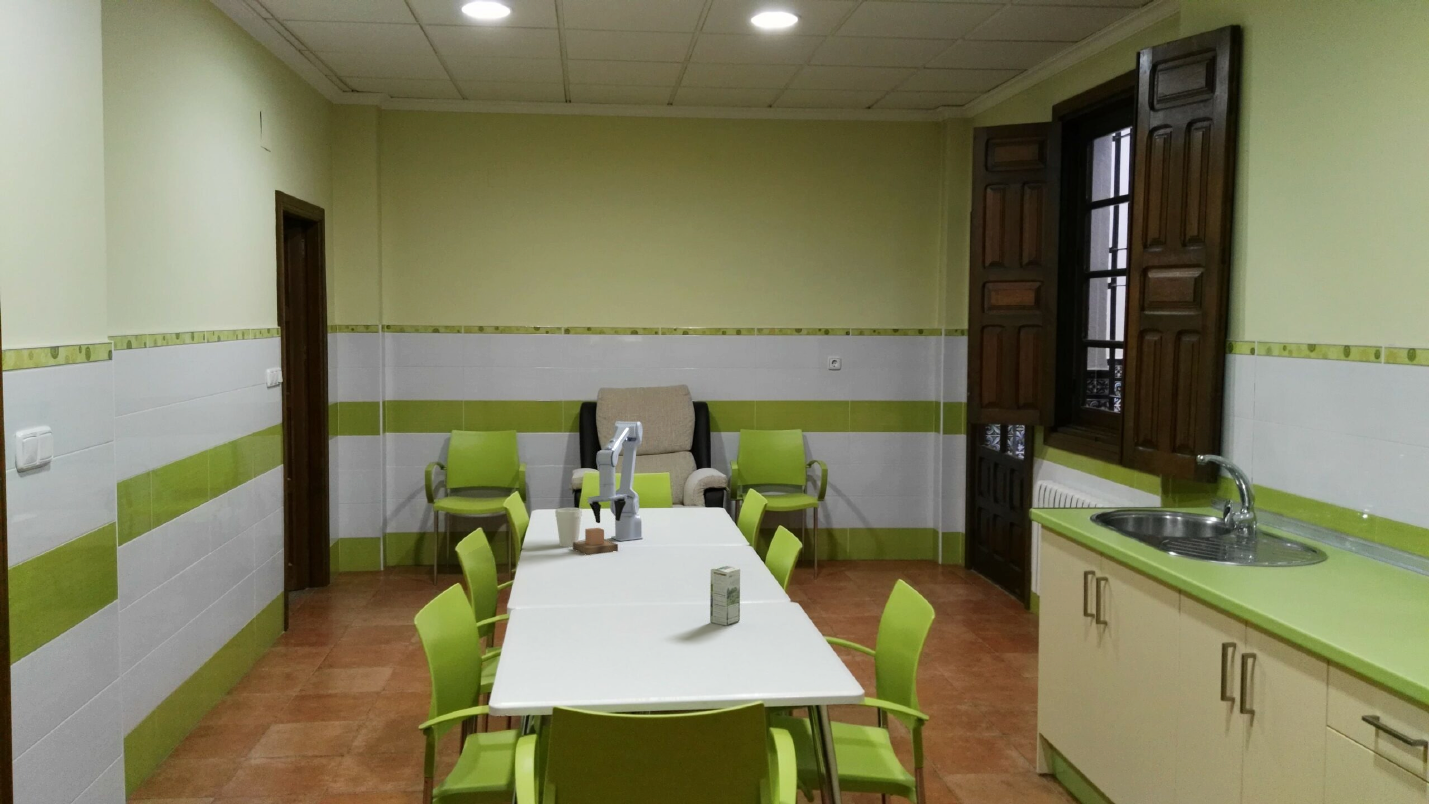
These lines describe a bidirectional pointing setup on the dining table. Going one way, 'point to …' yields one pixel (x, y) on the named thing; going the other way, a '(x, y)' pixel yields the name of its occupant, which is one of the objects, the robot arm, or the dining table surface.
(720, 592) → the syrup box
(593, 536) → the terracotta block
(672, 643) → the dining table surface
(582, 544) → the walnut plinth
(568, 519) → the foam cup
